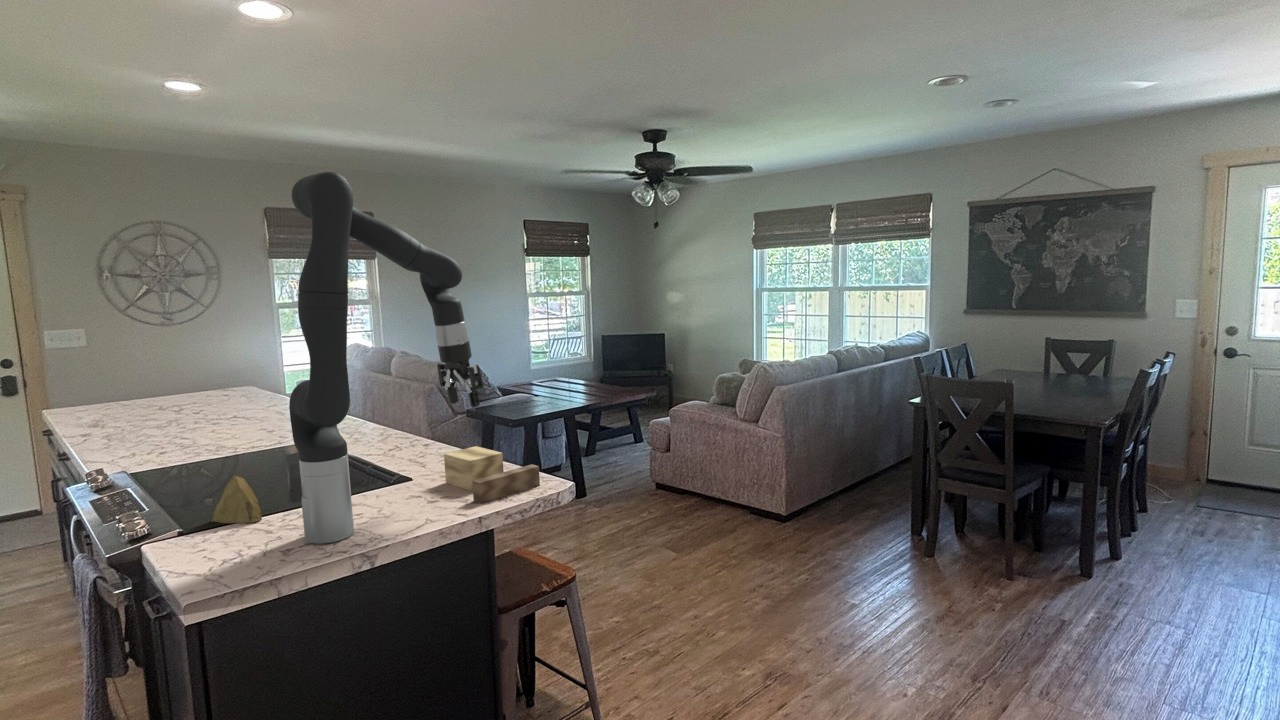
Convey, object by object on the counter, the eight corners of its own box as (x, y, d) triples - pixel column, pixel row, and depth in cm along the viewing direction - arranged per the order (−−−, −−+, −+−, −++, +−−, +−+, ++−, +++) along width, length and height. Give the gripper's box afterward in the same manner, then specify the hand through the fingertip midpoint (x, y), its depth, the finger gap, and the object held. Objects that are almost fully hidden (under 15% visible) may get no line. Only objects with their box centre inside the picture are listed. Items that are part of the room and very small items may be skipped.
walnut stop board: (480, 503, 161) (479, 483, 160) (473, 500, 163) (472, 480, 162) (539, 485, 174) (539, 466, 173) (532, 482, 176) (531, 464, 175)
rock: (276, 508, 154) (262, 494, 161) (249, 486, 149) (236, 472, 156) (235, 546, 149) (222, 529, 156) (206, 524, 144) (194, 507, 151)
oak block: (471, 491, 171) (469, 461, 170) (445, 483, 179) (443, 453, 178) (504, 482, 178) (502, 452, 177) (477, 474, 186) (476, 446, 185)
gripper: (423, 343, 165) (435, 406, 169) (458, 346, 157) (470, 412, 160) (448, 336, 171) (459, 397, 175) (483, 338, 162) (494, 402, 166)
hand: (464, 404), depth 167 cm, fingers open, 8 cm apart
